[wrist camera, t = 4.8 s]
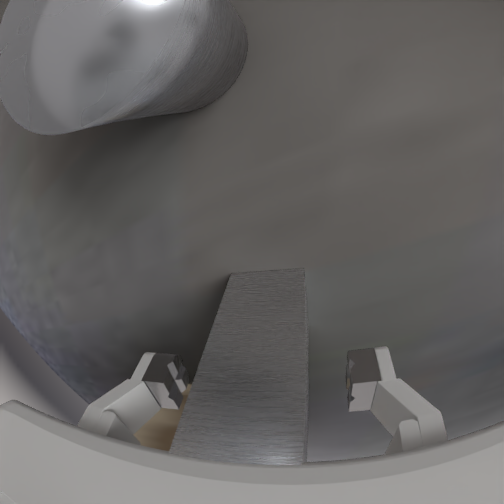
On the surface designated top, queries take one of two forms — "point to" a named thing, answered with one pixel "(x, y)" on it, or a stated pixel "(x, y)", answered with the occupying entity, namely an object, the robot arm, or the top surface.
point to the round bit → (115, 59)
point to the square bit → (252, 376)
